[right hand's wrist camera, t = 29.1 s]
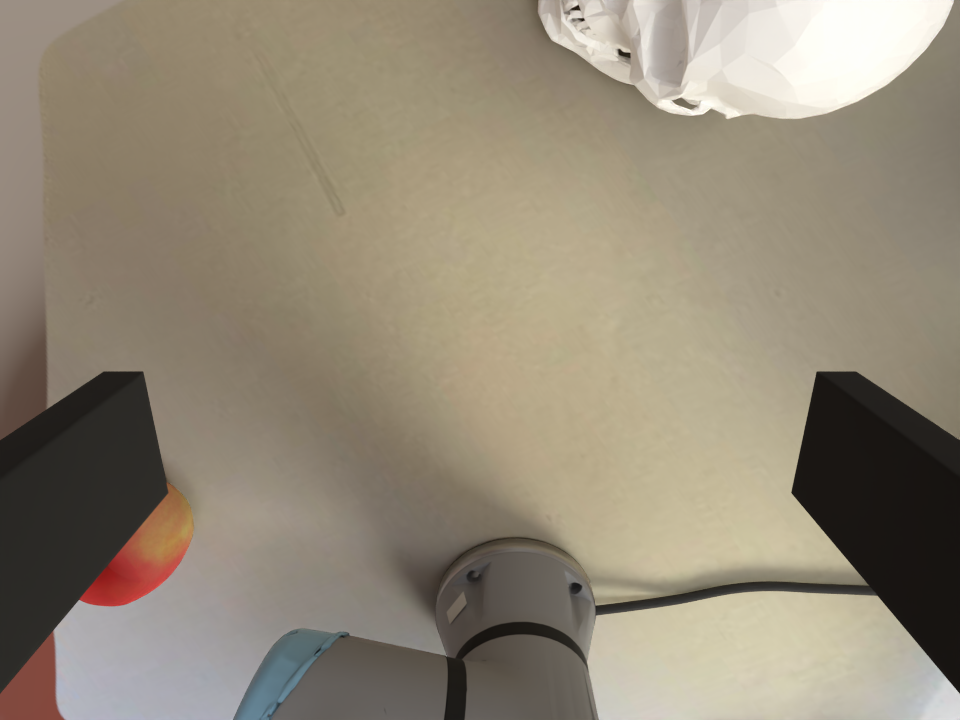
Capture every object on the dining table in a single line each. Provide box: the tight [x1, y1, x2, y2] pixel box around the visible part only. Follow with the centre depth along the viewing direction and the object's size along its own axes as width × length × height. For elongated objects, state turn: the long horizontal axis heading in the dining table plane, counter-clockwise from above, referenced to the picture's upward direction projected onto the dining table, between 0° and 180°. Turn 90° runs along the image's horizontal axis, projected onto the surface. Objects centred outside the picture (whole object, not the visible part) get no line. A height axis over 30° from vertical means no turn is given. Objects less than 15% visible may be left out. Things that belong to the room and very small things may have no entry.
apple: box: [79, 482, 194, 606], centre depth 52 cm, size 10×10×10 cm
